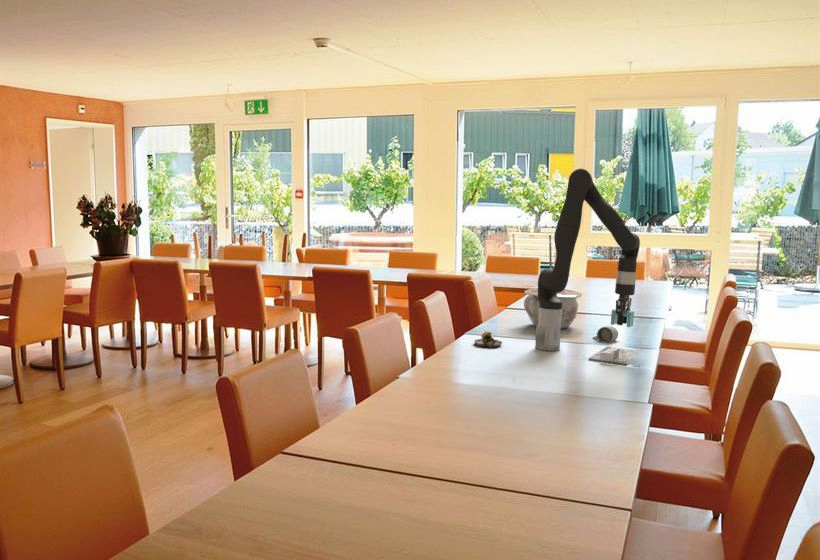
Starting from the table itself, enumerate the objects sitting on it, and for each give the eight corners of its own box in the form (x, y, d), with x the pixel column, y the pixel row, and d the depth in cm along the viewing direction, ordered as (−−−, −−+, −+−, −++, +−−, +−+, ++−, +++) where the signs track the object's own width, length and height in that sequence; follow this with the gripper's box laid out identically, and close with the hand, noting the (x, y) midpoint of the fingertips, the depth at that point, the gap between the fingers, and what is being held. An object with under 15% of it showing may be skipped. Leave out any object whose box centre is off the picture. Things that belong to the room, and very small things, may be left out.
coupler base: (624, 366, 264) (625, 355, 263) (588, 360, 271) (589, 350, 270) (641, 353, 286) (641, 343, 285) (607, 348, 293) (607, 339, 292)
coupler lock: (629, 327, 277) (630, 312, 277) (609, 324, 282) (610, 309, 281) (633, 325, 282) (634, 311, 281) (612, 322, 286) (614, 308, 285)
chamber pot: (575, 322, 351) (578, 282, 348) (583, 333, 324) (586, 289, 321) (519, 320, 353) (521, 279, 351) (523, 330, 326) (525, 287, 324)
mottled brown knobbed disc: (479, 349, 286) (480, 331, 285) (469, 343, 297) (470, 326, 296) (506, 348, 289) (507, 330, 288) (495, 342, 300) (496, 325, 299)
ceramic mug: (618, 342, 307) (619, 325, 306) (612, 345, 300) (613, 328, 300) (596, 339, 313) (597, 323, 312) (589, 341, 306) (590, 325, 306)
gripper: (629, 284, 272) (625, 327, 274) (639, 282, 284) (636, 323, 285) (610, 282, 276) (607, 325, 278) (621, 280, 288) (617, 320, 290)
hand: (621, 324), depth 282 cm, fingers closed on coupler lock, 5 cm apart
